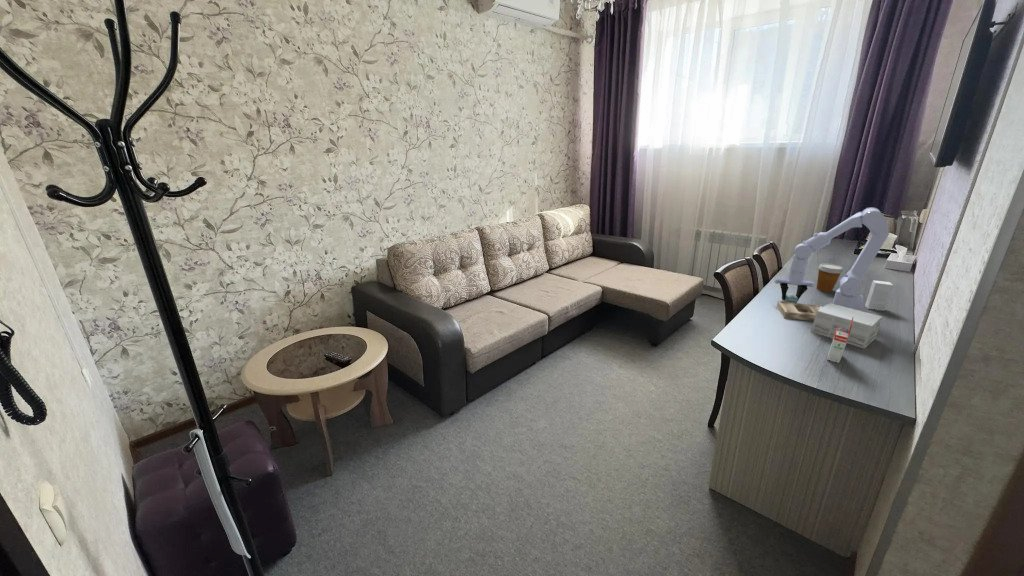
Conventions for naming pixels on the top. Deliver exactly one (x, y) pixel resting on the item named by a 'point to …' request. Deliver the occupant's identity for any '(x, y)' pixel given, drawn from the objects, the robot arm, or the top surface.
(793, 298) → the servo block
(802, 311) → the plate
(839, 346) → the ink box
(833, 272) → the orange jar with lid
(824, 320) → the supplement box
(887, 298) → the skincare box
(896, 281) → the top surface
